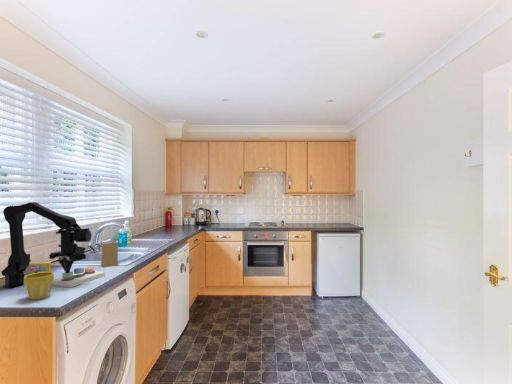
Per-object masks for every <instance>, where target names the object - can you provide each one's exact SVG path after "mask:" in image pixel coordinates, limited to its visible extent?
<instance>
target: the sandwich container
mask: <svg viewBox="0 0 512 384" xmlns="http://www.w3.org/2000/svg"><path fill="white" fill-rule="evenodd" d="M118 244H119V242H117V241H116V242H115V241H113V242H105V243H102V249H101V259H100V260H101V261H100V264H101V266H102V268H108V267H116V266H118V259H119V258H118V257H119V255H118V254H119V252H118V251H119V248H118V246H119V245H118Z"/></svg>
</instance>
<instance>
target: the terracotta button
mask: <svg viewBox="0 0 512 384" xmlns="http://www.w3.org/2000/svg"><path fill="white" fill-rule="evenodd" d="M84 271H85V273H91V272H94V271H95V267H94V266H90V267H89V266H88V267H85V268H84Z"/></svg>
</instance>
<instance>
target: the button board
mask: <svg viewBox="0 0 512 384" xmlns="http://www.w3.org/2000/svg"><path fill="white" fill-rule="evenodd" d="M105 276H106V272H105V271H99V270H94V272H91V273H85V270H84V272H83V273H80V274H74V273H73V277H70V278H62V276H60V277H57V278H54V280H53V281H52V283H51V285H53V286H58V287H64V288H72V287H76V286H78V285H82V284H84V283H87V282H89V281H94V280H96V278H97V279H99V277H100V278H103V277H105Z"/></svg>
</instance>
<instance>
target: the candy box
mask: <svg viewBox="0 0 512 384" xmlns="http://www.w3.org/2000/svg"><path fill="white" fill-rule="evenodd" d="M22 272H24V274H25V276H26V275H29V274H33V273H39V272H52V262H51V261H47V262H44V261H42V262H40V261H39V262H37V261H36V262H30V264H29V265H28V267H27V268H26V270H25V271H22Z"/></svg>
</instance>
